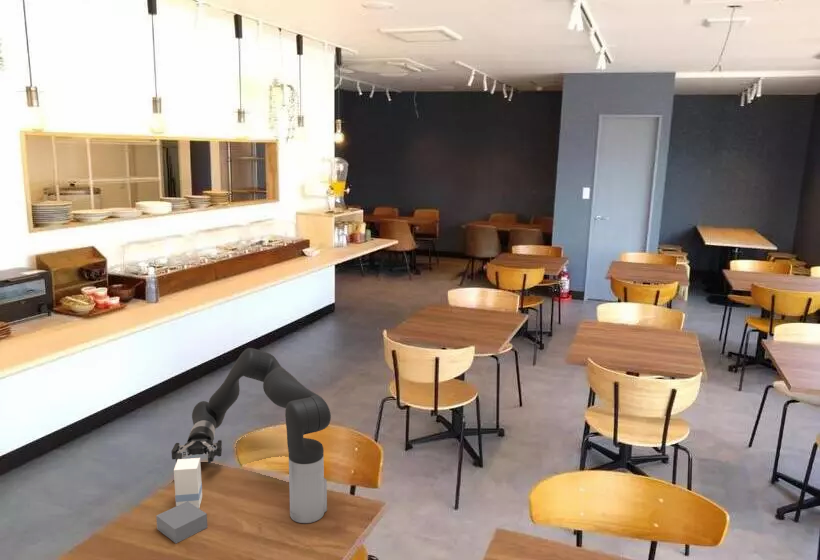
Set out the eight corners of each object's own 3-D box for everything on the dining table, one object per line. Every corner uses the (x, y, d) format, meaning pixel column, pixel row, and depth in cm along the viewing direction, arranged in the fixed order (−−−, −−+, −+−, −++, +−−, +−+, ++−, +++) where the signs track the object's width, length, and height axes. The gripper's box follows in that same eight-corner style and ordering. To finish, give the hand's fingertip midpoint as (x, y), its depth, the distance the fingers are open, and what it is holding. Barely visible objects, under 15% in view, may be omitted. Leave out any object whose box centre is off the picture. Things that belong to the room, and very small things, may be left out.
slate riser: (188, 514, 171) (187, 501, 170) (207, 527, 166) (206, 513, 165) (157, 529, 164) (156, 515, 164) (175, 543, 159) (174, 529, 158)
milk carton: (180, 498, 179) (177, 459, 176) (202, 496, 180) (200, 457, 177) (176, 510, 173) (173, 470, 170) (199, 508, 174) (197, 468, 172)
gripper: (177, 427, 199) (167, 451, 183) (224, 424, 201) (218, 448, 186) (178, 449, 200) (169, 475, 185) (225, 446, 203) (219, 471, 187)
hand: (194, 461), depth 185 cm, fingers open, 8 cm apart
